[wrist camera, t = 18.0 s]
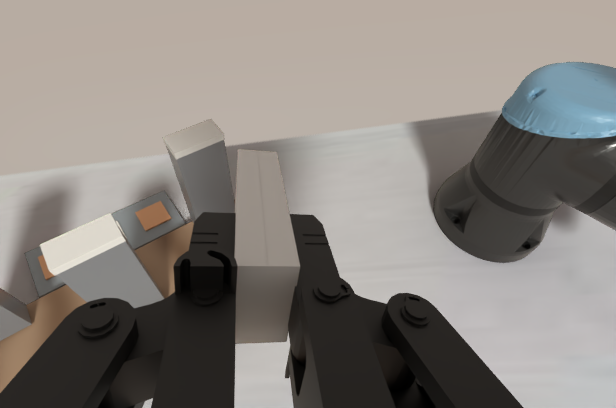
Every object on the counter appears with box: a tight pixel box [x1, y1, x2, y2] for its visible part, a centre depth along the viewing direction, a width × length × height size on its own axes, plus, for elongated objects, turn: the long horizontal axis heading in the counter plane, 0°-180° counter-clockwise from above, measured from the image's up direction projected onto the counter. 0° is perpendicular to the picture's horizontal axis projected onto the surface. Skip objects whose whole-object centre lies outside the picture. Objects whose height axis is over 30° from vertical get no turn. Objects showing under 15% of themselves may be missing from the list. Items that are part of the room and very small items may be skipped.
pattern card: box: [25, 191, 186, 298], centre depth 46 cm, size 18×7×1 cm, turn 127°
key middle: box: [40, 213, 165, 308], centre depth 32 cm, size 3×5×14 cm, turn 127°
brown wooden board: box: [0, 200, 235, 393], centre depth 40 cm, size 32×10×3 cm, turn 127°
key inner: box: [163, 119, 235, 223], centre depth 39 cm, size 3×5×14 cm, turn 127°
